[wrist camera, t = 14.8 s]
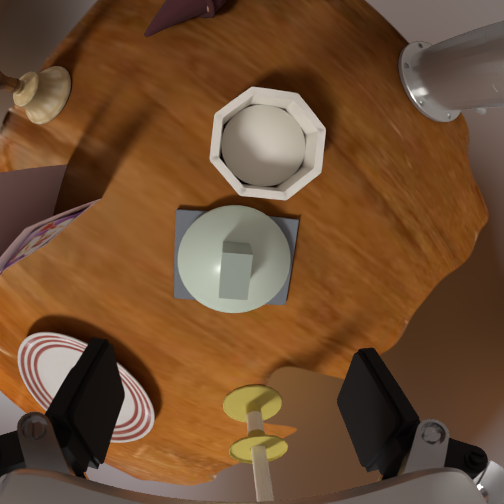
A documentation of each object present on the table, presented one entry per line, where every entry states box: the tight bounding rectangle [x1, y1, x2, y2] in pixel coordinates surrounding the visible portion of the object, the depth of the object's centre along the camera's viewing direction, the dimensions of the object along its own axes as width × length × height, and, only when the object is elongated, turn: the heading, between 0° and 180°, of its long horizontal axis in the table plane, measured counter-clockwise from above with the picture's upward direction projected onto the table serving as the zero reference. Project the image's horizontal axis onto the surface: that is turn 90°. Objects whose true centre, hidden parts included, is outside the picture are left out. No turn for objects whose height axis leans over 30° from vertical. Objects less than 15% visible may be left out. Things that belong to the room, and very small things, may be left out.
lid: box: [178, 205, 291, 313], centre depth 31 cm, size 13×13×5 cm
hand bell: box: [0, 66, 71, 124], centre depth 17 cm, size 8×8×16 cm
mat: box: [174, 209, 299, 305], centre depth 33 cm, size 14×11×1 cm
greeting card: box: [0, 165, 102, 274], centre depth 22 cm, size 11×7×15 cm, turn 118°
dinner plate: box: [18, 332, 155, 442], centre depth 37 cm, size 27×27×3 cm
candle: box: [223, 385, 288, 502], centre depth 29 cm, size 10×10×27 cm
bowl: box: [210, 87, 326, 200], centre depth 27 cm, size 11×11×5 cm
